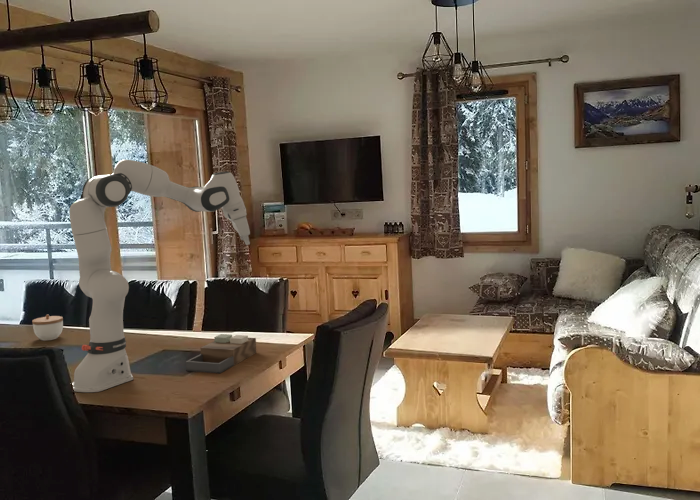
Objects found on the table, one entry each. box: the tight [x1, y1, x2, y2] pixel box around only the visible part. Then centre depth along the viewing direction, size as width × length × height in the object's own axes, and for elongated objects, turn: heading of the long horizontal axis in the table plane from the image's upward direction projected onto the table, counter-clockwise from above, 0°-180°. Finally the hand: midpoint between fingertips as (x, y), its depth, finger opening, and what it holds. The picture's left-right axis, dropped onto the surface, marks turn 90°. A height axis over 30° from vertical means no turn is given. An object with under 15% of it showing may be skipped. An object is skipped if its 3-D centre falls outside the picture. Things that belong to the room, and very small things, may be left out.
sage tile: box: [213, 333, 233, 343], centre depth 247 cm, size 5×5×2 cm
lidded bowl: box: [31, 314, 64, 341], centre depth 286 cm, size 13×13×11 cm
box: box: [185, 353, 235, 374], centre depth 232 cm, size 10×14×4 cm
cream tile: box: [230, 334, 249, 344], centre depth 245 cm, size 5×5×2 cm
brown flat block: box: [199, 337, 258, 366], centre depth 245 cm, size 18×14×6 cm
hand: (245, 242), depth 255 cm, fingers open, 8 cm apart
